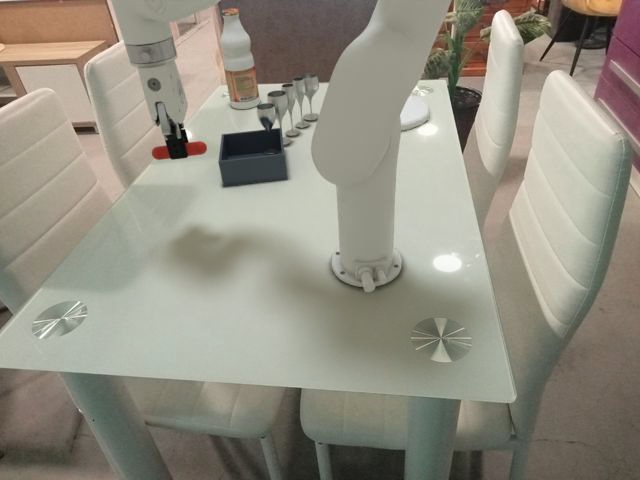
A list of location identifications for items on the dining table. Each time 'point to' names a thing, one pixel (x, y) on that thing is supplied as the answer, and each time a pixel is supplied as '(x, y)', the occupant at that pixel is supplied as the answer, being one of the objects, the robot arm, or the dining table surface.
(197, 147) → the red rounded rod
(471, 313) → the dining table surface
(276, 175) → the bin
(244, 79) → the fruit juice
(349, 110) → the robot arm
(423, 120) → the decorative plate
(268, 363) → the dining table surface
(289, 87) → the goblet set
